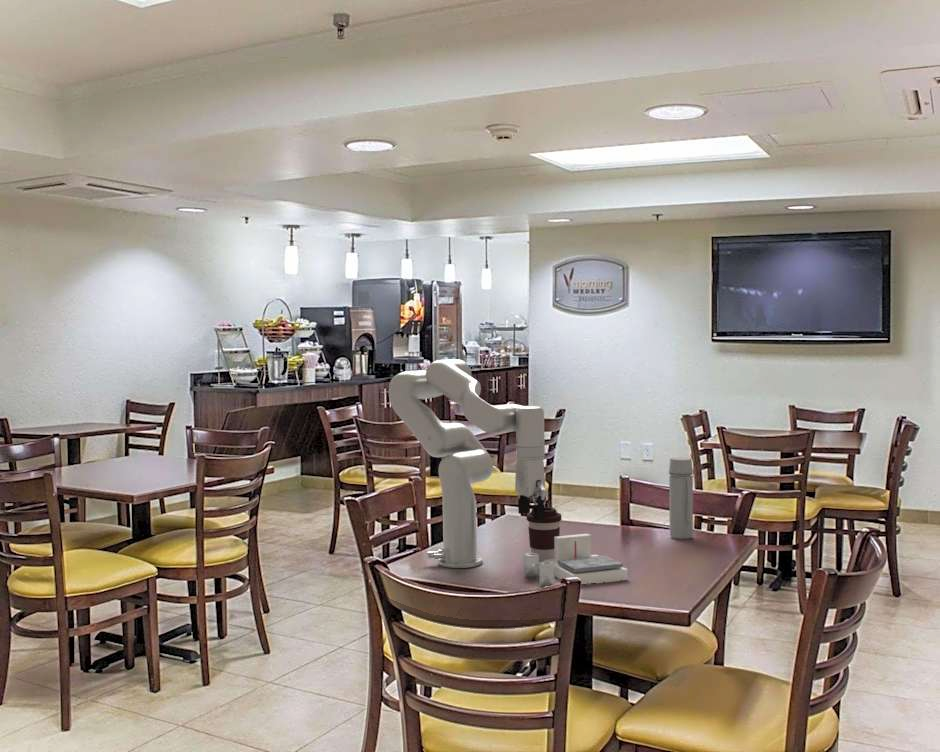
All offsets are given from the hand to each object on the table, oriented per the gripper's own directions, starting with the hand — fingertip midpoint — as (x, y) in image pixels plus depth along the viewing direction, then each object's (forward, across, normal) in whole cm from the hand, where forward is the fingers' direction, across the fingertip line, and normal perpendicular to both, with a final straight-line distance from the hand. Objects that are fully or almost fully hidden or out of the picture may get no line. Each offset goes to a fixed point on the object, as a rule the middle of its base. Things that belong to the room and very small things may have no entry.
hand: (531, 516), depth 243 cm
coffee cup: (+16, -14, +10) cm, 24 cm away
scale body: (+16, +4, +14) cm, 22 cm away
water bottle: (+16, -24, +62) cm, 68 cm away
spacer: (+16, +10, 0) cm, 19 cm away
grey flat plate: (+13, +7, +14) cm, 20 cm away
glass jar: (+16, 0, 0) cm, 16 cm away
